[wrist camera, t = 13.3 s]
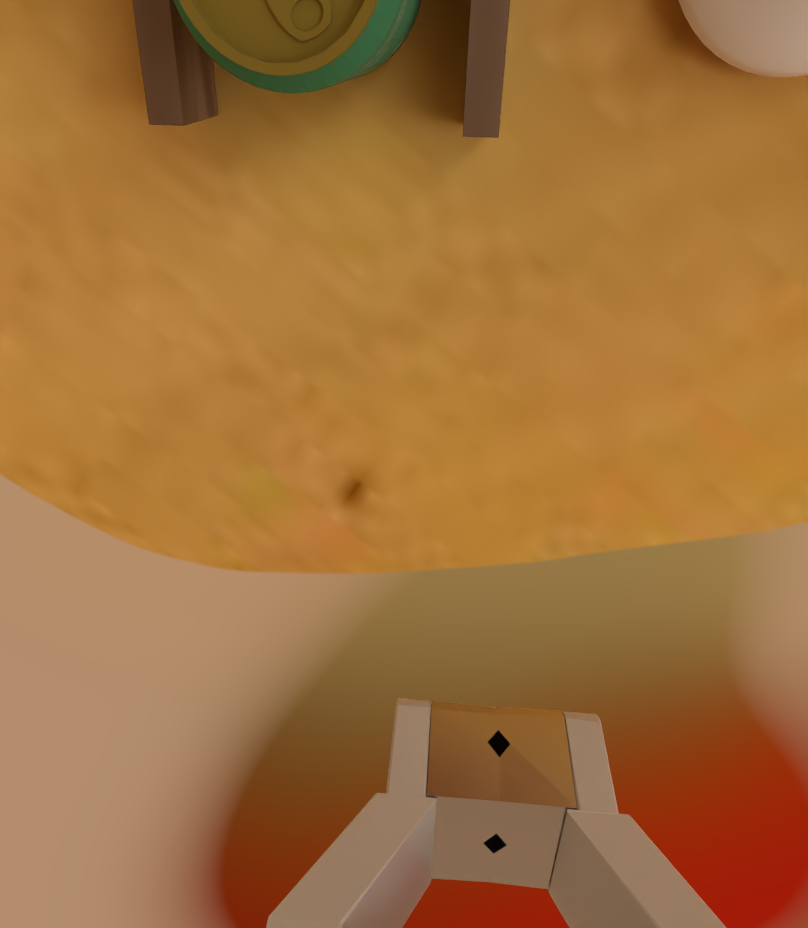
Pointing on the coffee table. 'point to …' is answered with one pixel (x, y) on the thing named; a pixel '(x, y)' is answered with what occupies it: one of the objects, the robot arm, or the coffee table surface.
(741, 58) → the flower in vase
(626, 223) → the coffee table surface
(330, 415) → the coffee table surface
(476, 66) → the walnut bracket
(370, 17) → the beverage can
